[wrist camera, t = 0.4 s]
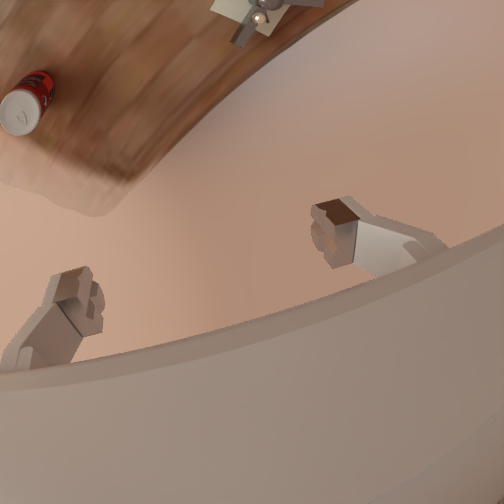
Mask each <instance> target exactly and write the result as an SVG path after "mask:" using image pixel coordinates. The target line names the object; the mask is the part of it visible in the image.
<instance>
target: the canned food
mask: <svg viewBox="0 0 504 504" xmlns="http://www.w3.org/2000/svg"><path fill="white" fill-rule="evenodd" d="M53 96H54V83H53V80H52V78H51V77H50V76H49V75H48V74H46V73H44V72H40V71H37V72H32V73H30V74H28V75H26V76H25V77H24V78H23V79H22V80H21V81H20V82H19V83H18V84H17V85H16V86H15V87H14V88H13V89H12V90H11V91H10V92H9V93H8V94H7V95H6V97H5V98H4V99H3V101H2V103H1V105H0V123H1V125H2V126H3V128H4V129H5V130H6V131H7V132H8V133H10V134H12V135H17V136H22V135H26V134H28V133H30V132H31V131H32V130H33V129H34V128H35V127H36V126H37V124H38V122H39V121H40V119H41V117H42V116H43V114H44V112H45V110H46V109H47V107H48V105H49V104H50V102H51V100H52V98H53Z"/></svg>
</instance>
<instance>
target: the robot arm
mask: <svg viewBox="0 0 504 504" xmlns="http://www.w3.org/2000/svg"><path fill="white" fill-rule="evenodd" d="M311 216H312V218H313V219H314V222H313V224H312V225H311V235H312V239H313V242H314V244H315V246H316V248H317V249H318V250H319V251H322V252H324V258H325V260H326V261H327V262H328V264H329V265H330V266H331V268H332V269H334V268H337V267H341V266H344V265H348V264H351V263H353V264H354V265H356V266H358V267H360V268H362V269H364V270H365V271H367V272H369V273H371V274H373V275H375V276H377V277H378V278H376V279H373V280H370V281H367V282H365V283H362V284H359V285H356V286H354V287H351V288H348V289H345V290H343V291H339V292H337V293H334V294H331V295H328V296H325V297H322V298H319V299H316V300H313V301H310V302H307V303H304V304H301V305H298V306H295V307H292V308H289V309H285V310H282V311H279V312H276V313H273V314H269V315H266V316H263V317H259V318H256V319H253V320H249V321H246V322H242V323H239V324H235V325H232V326H228V327H225V328H221V329H218V330H214V331H210V332H207V333H203V334H199V335H195V336H192V337H188V338H184V339H180V340H176V341H172V342H168V343H164V344H160V345H155V346H151V347H147V348H143V349H138V350H133V351H129V352H124V353H119V354H115V355H110V356H105V357H100V358H95V359H90V360H85V361H79V362H74V363H70V362H71V360H72V358H73V356H74V354H75V352H76V351H77V348H78V347H79V345H80V343H81V341H82V339H83V337H87V336H91V335H94V334H98V333H102V328H103V317H102V315H101V313H102V311H103V310H104V307H105V300H104V295H103V292H102V290H101V288H100V286H99V284H98V283H96V282H94V281H92V277H93V274H92V272H91V271H90V268H89V267H87V266H84V267H80V268H76V269H73V270H69V271H66V272H63V273H59V274H56V275H53V276H52V277H51V278H50V281H49V284H48V287H47V290H46V293H45V297H44V299H43V303H42V306H41V307H38V308H37V310H36V311H35V312H34V313H33V314H32V315H31V317H30V318H29V319H28V320H27V321H26V323H25V324H24V325H23V326H22V328H21V329H20V330H19V331H18V333H17V334H16V335H15V336H14V338H13V339H12V340H11V342H10V343H9V344H8V345H7V347H6V348H5V349H4V352H3V355H2V359H1V363H0V504H504V224H502V225H500V226H498V227H496V228H494V229H492V230H490V231H487V232H485V233H483V234H481V235H479V236H477V237H475V238H472V239H470V240H468V241H466V242H464V243H461V244H459V245H457V246H455V247H452V248H448V247H447V246H446V245H445V244H444V243H443V242H442V241H441V240H440V239H438V238H437V237H436V236H435V235H434V234H433V233H431V232H428V231H425V230H422V229H419V228H416V227H413V226H410V225H407V224H404V223H401V222H398V221H394V220H391V219H388V218H385V217H381V216H378V215H376V216H373V215H372V214H371V213H370V212H369V211H367V210H366V209H365V208H364V207H363V206H362V205H361V204H359V203H358V202H357V201H356V200H355V199H354V198H352V197H351V196H346V197H342V198H338V199H335V200H331V201H327V202H323V203H319V204H315V205H312V207H311Z"/></svg>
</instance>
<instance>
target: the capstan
mask: <svg viewBox="0 0 504 504" xmlns="http://www.w3.org/2000/svg"><path fill="white" fill-rule="evenodd" d="M248 1H249V3H250V4H251V5H252V7H251V9H250V10H249V12H248V13H247V15H246V17H245V18H244V20H243V21H242V23H241V24H240V26H239V28H238V29H237V31H236V32H235V34H234V36H233V37H232V39H231V41H230V42H231V43H233V44H234V45H237V46H239V47H241V48H244V46H245V45H246V43H247V41H248V40H249V38H250V37H251V35H252V33H253V32H254V30H255V29H256V27H257V26H258V24H263V23H264V22H265V21H266V16H265V14H266V12H267V10H270V11H275V10H278V9H280V8H281V7H282V6H283V5H300V6H312V7H321V8H323V4H324V0H248ZM265 9H266V10H265Z"/></svg>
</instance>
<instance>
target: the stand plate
mask: <svg viewBox="0 0 504 504" xmlns="http://www.w3.org/2000/svg"><path fill="white" fill-rule="evenodd" d="M289 6H290V5H283V6H282V7H281V8H280V9H278V10H275V11H270V10H267V12H266V14H265V16H266V21H265V22H264V23H263V24H258V26H257V27H256V29H255V30H256V31H258V32H260V33H262V34H264V35H266V36H268V37H269V36H270V34H271V33H272V31H273V30H274V28H275V27H276V25H277V24H278V22H279V21H280V19H281V18H282V16H283V15H284V13H285V12H286V11H287V9H288V8H289ZM251 7H252V5H251V4H250V3H249V1H248V0H215V2H214V3H213V5H212V7H211V8H210V10H211V11H214V12H216V13H219V14H221V15H223V16H226V17H228V18H230V19H233V20H235V21H237V22H239V23H242V21H243V20H244V18H245V17H246V15H247V13H248V12H249V10H250V9H251ZM265 10H266V9H265Z"/></svg>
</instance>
